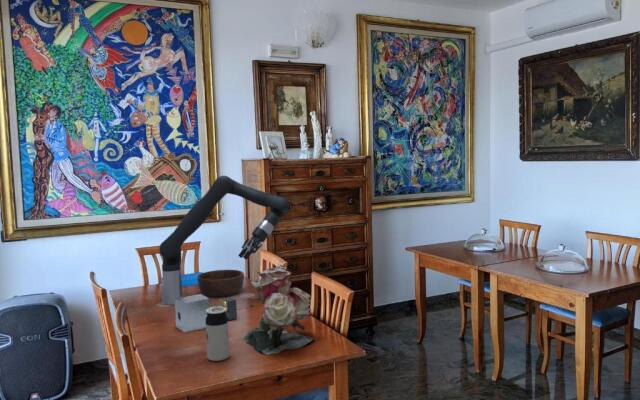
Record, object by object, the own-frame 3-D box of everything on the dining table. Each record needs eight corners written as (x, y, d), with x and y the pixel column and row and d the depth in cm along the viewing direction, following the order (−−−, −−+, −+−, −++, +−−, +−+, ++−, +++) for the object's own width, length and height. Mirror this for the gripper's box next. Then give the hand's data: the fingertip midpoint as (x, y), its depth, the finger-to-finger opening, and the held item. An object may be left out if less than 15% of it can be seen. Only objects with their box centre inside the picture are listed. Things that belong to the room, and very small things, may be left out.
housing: (184, 332, 219) (182, 303, 218) (176, 326, 228) (174, 298, 227) (210, 326, 226) (209, 298, 225) (202, 321, 234) (200, 293, 233)
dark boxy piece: (198, 326, 225) (197, 307, 224) (193, 323, 230) (192, 304, 229) (237, 318, 235) (236, 299, 234) (231, 315, 240) (230, 297, 239)
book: (161, 277, 309) (202, 271, 321) (161, 284, 310) (202, 278, 322) (167, 283, 294) (210, 276, 307) (168, 290, 295) (211, 283, 307)
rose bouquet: (269, 360, 187) (266, 278, 184) (237, 337, 211) (234, 265, 209) (329, 344, 200) (326, 268, 198) (292, 325, 225) (289, 256, 222)
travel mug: (230, 352, 195) (228, 305, 193) (227, 361, 187) (225, 312, 185) (209, 353, 195) (207, 306, 193) (205, 362, 187) (203, 313, 185)
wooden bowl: (194, 291, 289) (193, 272, 288) (237, 285, 300) (236, 267, 299) (203, 301, 267) (202, 282, 266) (250, 294, 277) (249, 276, 276)
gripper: (251, 224, 264) (230, 251, 259) (264, 227, 253) (243, 255, 247) (261, 233, 268) (241, 260, 262) (274, 236, 256) (253, 264, 250)
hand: (242, 257), depth 255 cm, fingers open, 5 cm apart
